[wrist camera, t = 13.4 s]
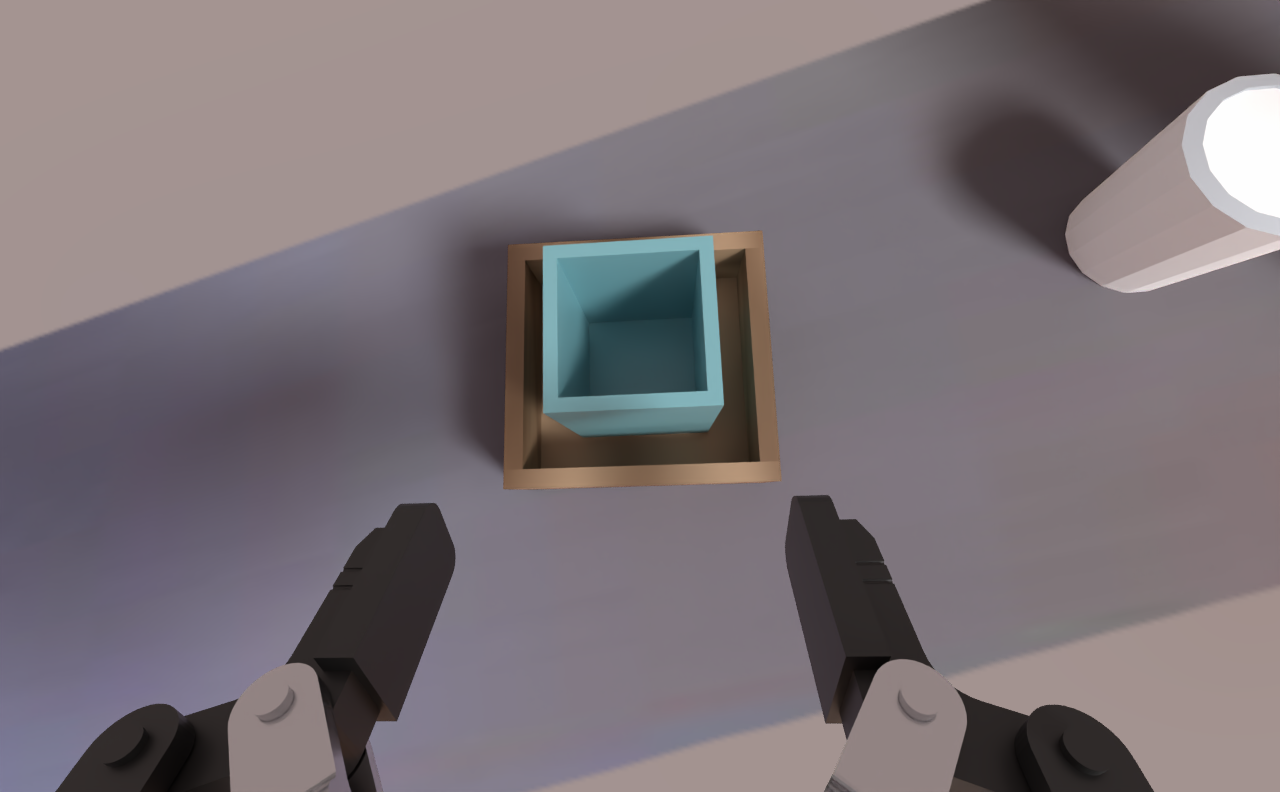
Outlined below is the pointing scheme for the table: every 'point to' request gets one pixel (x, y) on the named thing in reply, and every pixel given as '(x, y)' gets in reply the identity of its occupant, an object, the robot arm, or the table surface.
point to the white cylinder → (1188, 194)
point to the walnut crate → (719, 456)
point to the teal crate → (631, 337)
